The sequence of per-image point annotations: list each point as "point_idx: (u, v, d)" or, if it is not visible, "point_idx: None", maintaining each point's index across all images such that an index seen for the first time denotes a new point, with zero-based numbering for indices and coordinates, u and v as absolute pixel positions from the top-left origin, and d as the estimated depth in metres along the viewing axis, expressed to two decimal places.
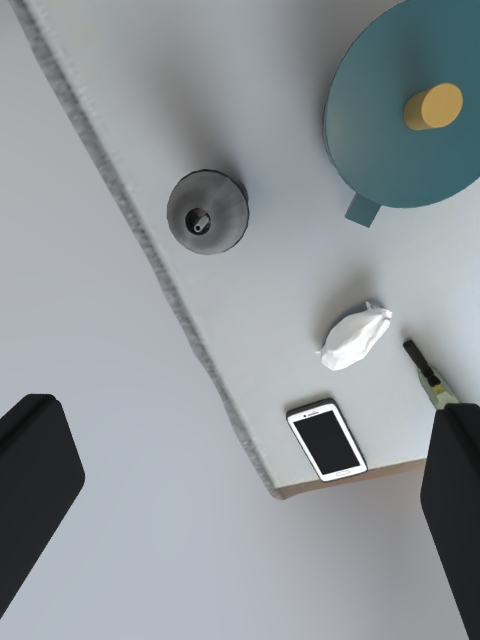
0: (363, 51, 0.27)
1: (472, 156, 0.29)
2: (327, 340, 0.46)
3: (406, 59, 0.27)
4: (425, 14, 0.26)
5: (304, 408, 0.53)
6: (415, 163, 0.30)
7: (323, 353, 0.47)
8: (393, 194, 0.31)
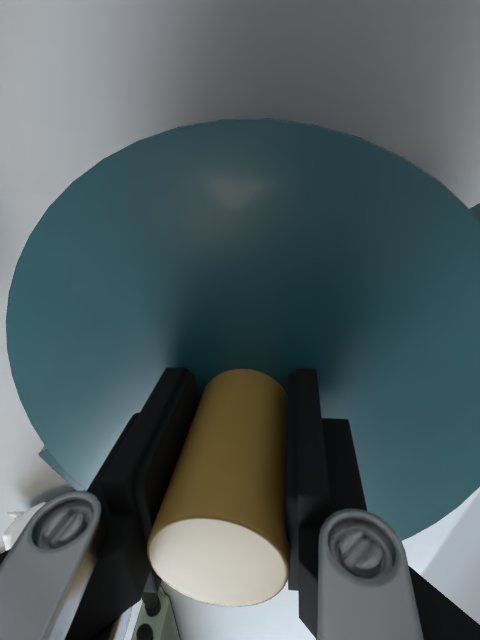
0: (168, 181, 0.08)
1: None
2: (23, 517, 0.27)
3: (268, 282, 0.09)
4: (370, 212, 0.08)
5: None
6: None
7: (8, 530, 0.27)
8: None
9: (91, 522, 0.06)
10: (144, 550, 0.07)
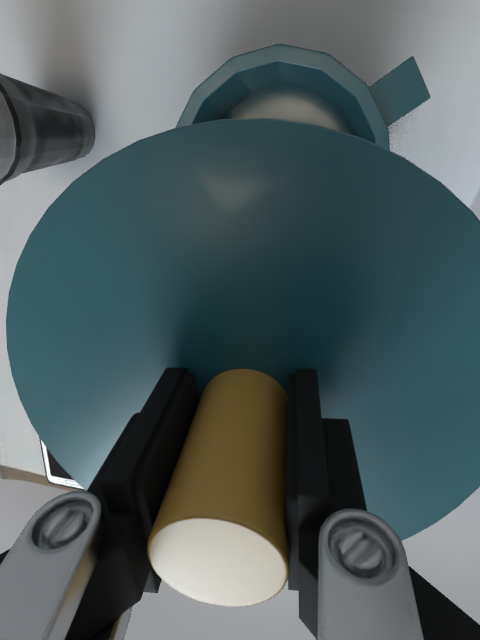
0: (169, 181, 0.08)
1: None
2: None
3: (268, 282, 0.09)
4: (370, 212, 0.08)
5: None
6: None
7: None
8: None
9: (91, 522, 0.06)
10: (144, 550, 0.07)
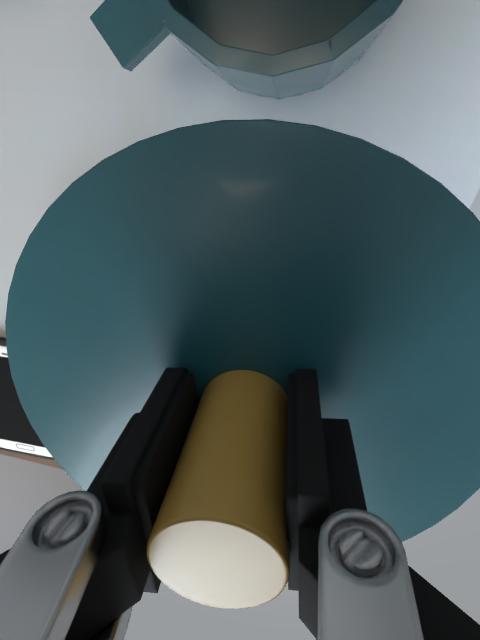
0: (168, 182, 0.08)
1: None
2: None
3: (268, 283, 0.09)
4: (370, 213, 0.08)
5: (1, 342, 0.35)
6: None
7: None
8: None
9: (91, 522, 0.06)
10: (145, 550, 0.07)
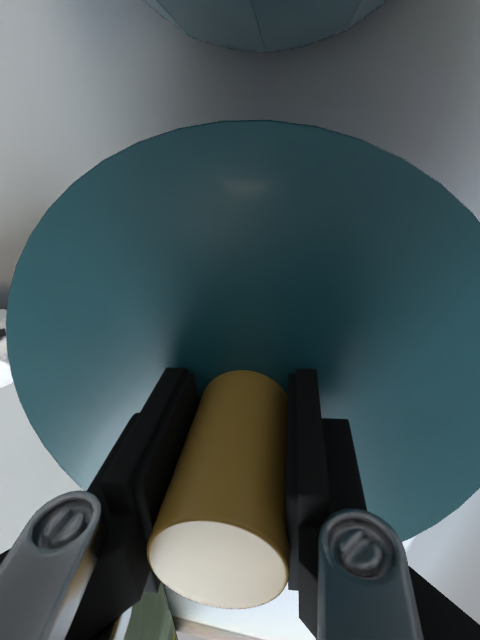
0: (168, 182, 0.08)
1: None
2: None
3: (268, 284, 0.09)
4: (370, 213, 0.08)
5: None
6: None
7: None
8: None
9: (91, 522, 0.06)
10: (144, 550, 0.07)
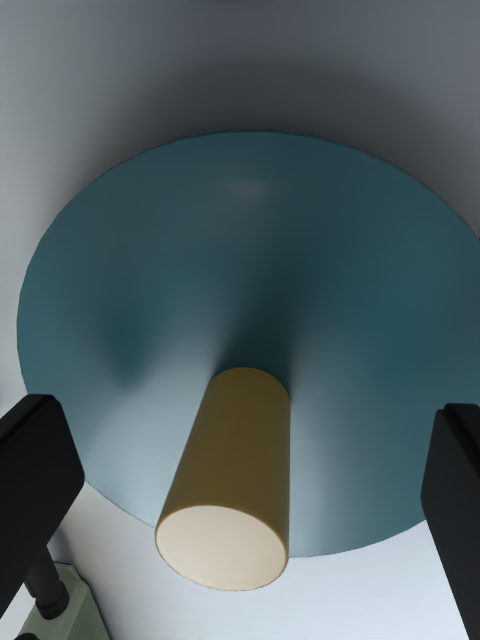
0: (174, 188, 0.09)
1: (301, 526, 0.13)
2: None
3: (268, 284, 0.09)
4: (365, 217, 0.08)
5: None
6: None
7: None
8: (129, 492, 0.13)
9: None
10: None
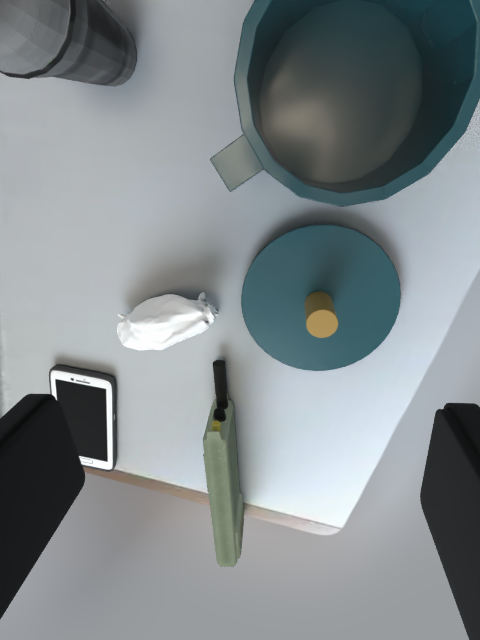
0: (305, 238, 0.32)
1: (333, 354, 0.36)
2: (135, 308, 0.36)
3: (329, 265, 0.32)
4: (356, 247, 0.31)
5: (76, 370, 0.41)
6: (295, 333, 0.36)
7: (123, 320, 0.36)
8: (269, 343, 0.36)
9: None
10: None
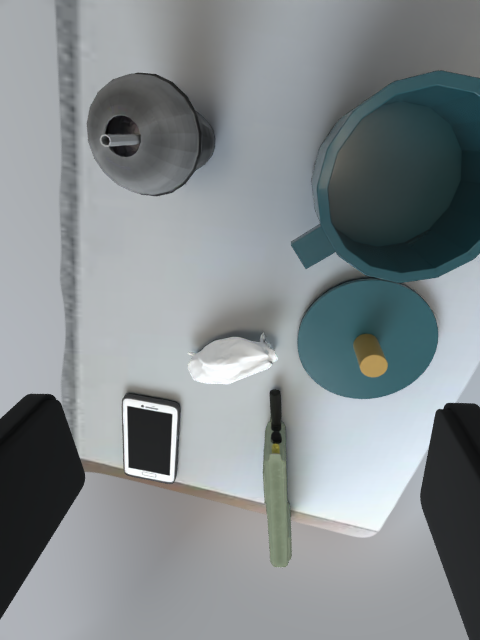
0: (356, 290, 0.37)
1: (376, 385, 0.41)
2: (205, 348, 0.41)
3: (376, 312, 0.38)
4: (401, 298, 0.37)
5: (146, 398, 0.47)
6: (344, 368, 0.41)
7: (194, 358, 0.41)
8: (321, 376, 0.42)
9: None
10: None
